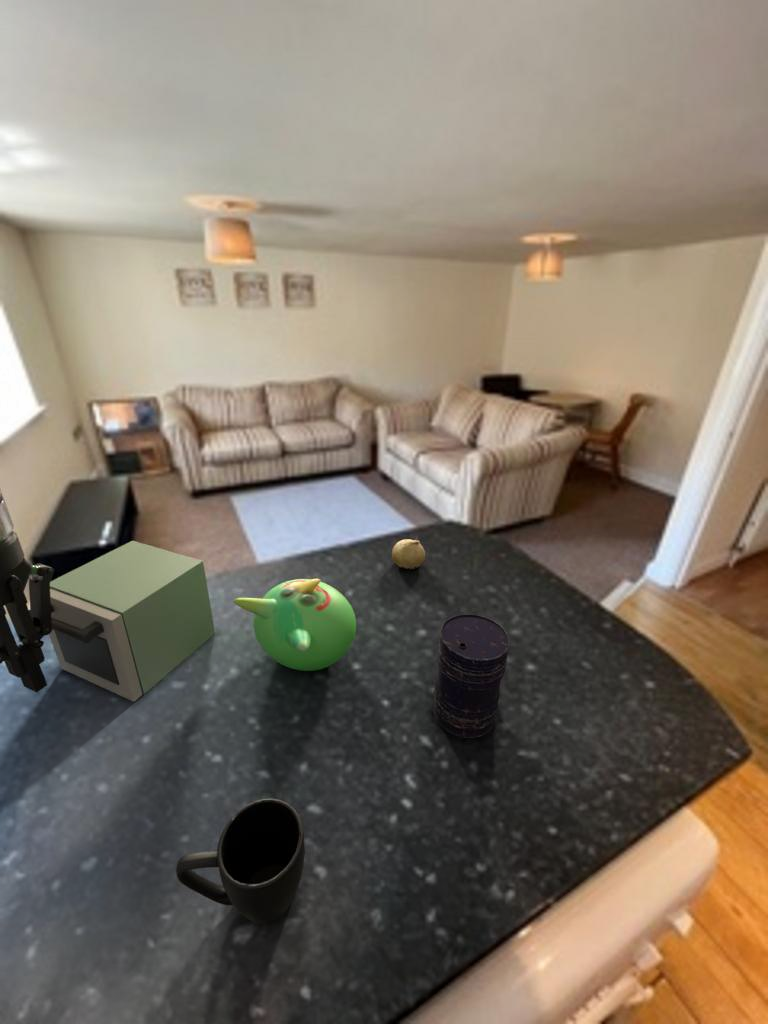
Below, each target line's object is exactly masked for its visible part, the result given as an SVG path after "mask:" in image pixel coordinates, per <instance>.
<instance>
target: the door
mask: <svg viewBox="0 0 768 1024" xmlns="http://www.w3.org/2000/svg"><path fill="white" fill-rule="evenodd" d="M50 598H51V620H52V631H51V633H50V634H49V635H48V636H49V639H50V641H51V644H52V647H53V651H54V652H55V655H56V659H57V661H58V664H59V666H60V669H61V670H64V671H66V672H68V673H70V674H73V675H74V676H77V677H78V678H81V679H82V680H85V681H87V682H90V683H92V684H94V685H96V686H98V687H100V688H103V689H105V690H107V691H109V692H112V693H113V694H116V695H118V696H120V697H123V698H125V699H127V700H129V701H131V702H133V703H134V702H136V701H137V700H138V699H140V697H142V696H143V693H142V691H141V687H140V683H139V680H138V676H137V672H136V668H135V664H134V661H133V657H132V653H131V649H130V645H129V642H128V638H127V634H126V630H125V626H124V623H123V619H122V615H121V614H119V613H116V612H113V611H110V610H108V609H105V608H102V607H100V606H97V605H94V604H92V603H89V602H86V601H83V600H81V599H78V598H75V597H73V596H70V595H67V594H65V593H62V592H59V591H57V590H54V589H51V588H50ZM28 610H29V612H30V609H28ZM30 615H31V613H30Z"/></svg>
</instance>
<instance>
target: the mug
mask: <svg viewBox="0 0 768 1024" xmlns="http://www.w3.org/2000/svg"><path fill="white" fill-rule="evenodd" d="M226 823H227V824H225V826H224V828H223V830H222V832H221V834H220V836H219V839H218V844H217V848H216V850H205V851H197V852H192V853H188V854H185V855H182V856H180V858H179V859H178V861H177V862H176V867H175V874H176V878H177V880H178V882H180V883H181V884H182V885H183V886H185V887H186V888H188V889H190V890H192V891H193V892H194V893H198V894H199V895H201V896H203V897H205V898H207V899H209V900H211V901H213V902H215V903H217V904H220V905H224V906H233V907H234V908H235V909H236V910H237V911H238V912H239V913H240V914H241V915H242V916H243V917H245V918H246V919H248V921H250V922H251V923H253V924H255V925H259V926H266V925H270V924H273V923H275V922H276V921H277V922H278V920H280V919H281V918H282V917H284V915H285V914H286V913H287V912H288V910H289V909H290V908H291V905H292V903H293V902H294V898H295V895H296V893H297V891H298V888H299V886H300V884H301V879H302V876H303V870H304V865H305V853H306V850H305V849H306V848H305V834H304V828H303V827H304V826H303V822H302V819H301V816H300V815H299V813H298V812H297V811H296V809H295V807H293V806H291V805H290V804H289V803H288V802H285V801H283V800H281V799H276V798H261V799H258V800H255V801H252V802H250V803H248V804H246V805H245V806H243V807H242V808H240V809H239V810H238V811H236V813H234V815H233V816H231V818H229V820H228V822H226ZM207 868H209V869H210V868H218V872H219V876H220V880H221V883H222V885H221V884H219V883H218V884H217V883H216V882H213V881H211V880H209V879H208V878H206V877H204V876H202V875H200V874H199V873H197V872H195V871H194V870H198V869H207Z"/></svg>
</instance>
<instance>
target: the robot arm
mask: <svg viewBox="0 0 768 1024" xmlns="http://www.w3.org/2000/svg"><path fill="white" fill-rule="evenodd" d="M54 573H55V569H54V568H53V567H52V566H49V565H45V564H42V563H36V564H32V563H31V562H30V561H29V560H27V559H26V558H25V553H24V550H23V547H22V545H21V542H20V539H19V536H18V534H17V533H16V531H14V523H13V520H12V517H11V514H10V511H9V508H8V506H7V504H6V501H5V498H4V495H3V493H2V490H1V489H0V665H1V664H3V662H4V664H5V667H6V669H7V671H8V674H10V675H12V676H14V677H16V678H18V679H19V678H20V680H21V683H22V685H23V688H26V689H28V690H30V691H32V692H34V693H38V692H40V691H41V690H43V689H44V688H46V687H47V686H48V683H47V680H46V678H45V675H44V672H43V669H42V667H41V665H40V664H42V663H44V662H45V659H46V658H45V654H44V652H43V649H42V648H43V646H44V644H45V641H43V640H42V639H43V638H44V637H45V636H49V634H50V633H51V631H52V620H51V598H50V582H51V581H52V578H53V575H54ZM27 585H28V591H29V592H28V593H29V594H28V595H29V607H28V605H27V604H28V599H27V597H26V594H25V589H26V587H27ZM4 606H5V607H4ZM29 610H30V612H29ZM30 613H31V615H30ZM7 614H8V616H9V619H10V621H11V623H12V626H13V628H14V630H15V634H16V637H17V638H18V641H19V642H20V644H18V643H17V641H16V639H15V636H14V634H13V632H12V629H11V626H10V624H9V622H8V619H7V616H6V615H7Z"/></svg>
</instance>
